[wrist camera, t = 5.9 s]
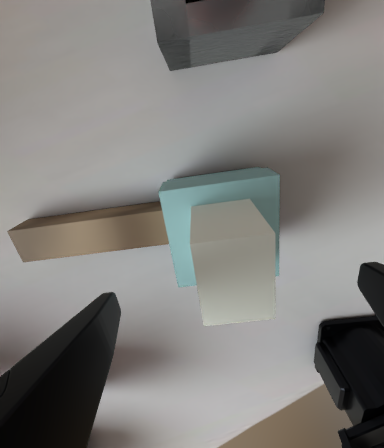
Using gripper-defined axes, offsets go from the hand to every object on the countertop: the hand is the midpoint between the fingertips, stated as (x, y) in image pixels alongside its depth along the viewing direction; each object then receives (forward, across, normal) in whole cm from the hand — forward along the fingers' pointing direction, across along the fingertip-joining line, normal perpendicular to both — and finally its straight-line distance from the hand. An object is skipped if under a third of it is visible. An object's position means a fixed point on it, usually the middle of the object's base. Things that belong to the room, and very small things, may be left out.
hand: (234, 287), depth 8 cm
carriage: (+9, 0, 0) cm, 9 cm away
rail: (+9, +5, 0) cm, 10 cm away
